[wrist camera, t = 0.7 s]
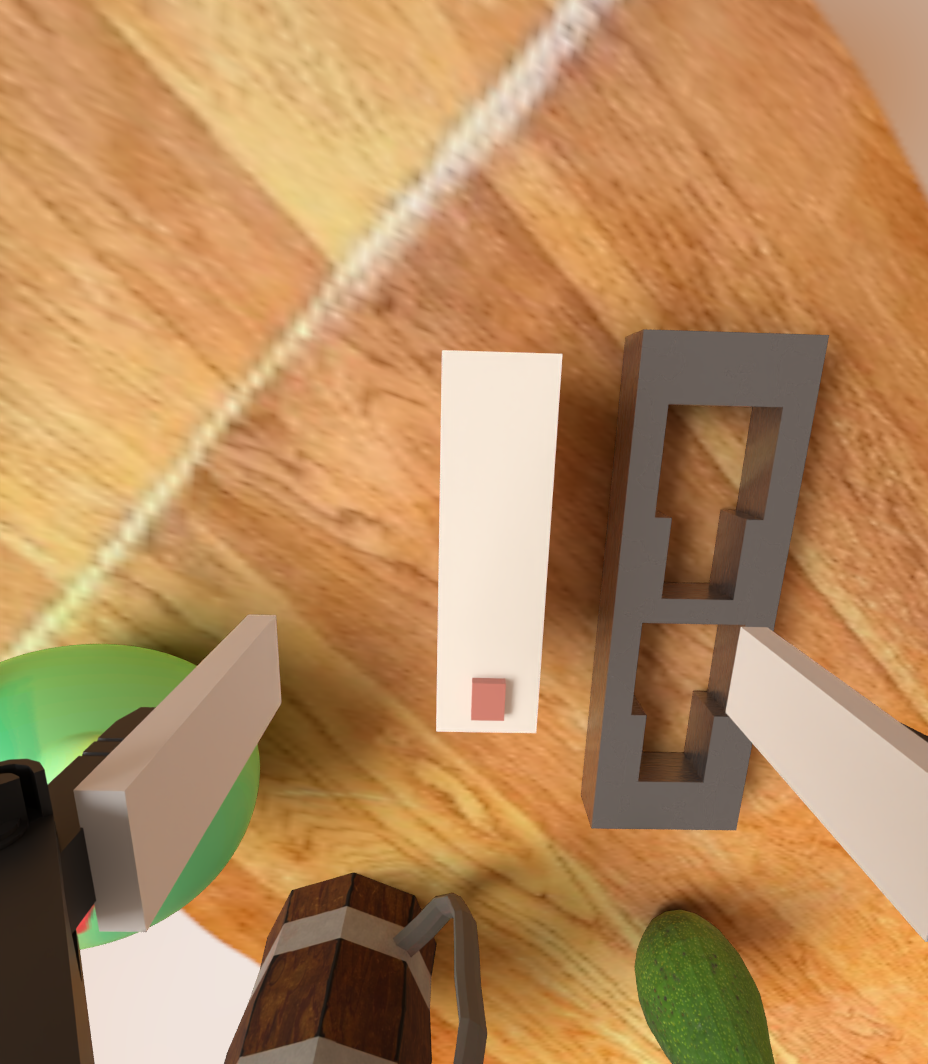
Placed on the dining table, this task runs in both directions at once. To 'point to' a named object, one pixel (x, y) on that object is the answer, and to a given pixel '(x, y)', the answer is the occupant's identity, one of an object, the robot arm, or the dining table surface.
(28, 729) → the toy bird
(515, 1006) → the dining table surface
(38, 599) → the dining table surface
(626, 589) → the keyhole plate
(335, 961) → the mug
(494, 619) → the cream block with pegs
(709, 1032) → the fruit
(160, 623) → the dining table surface
